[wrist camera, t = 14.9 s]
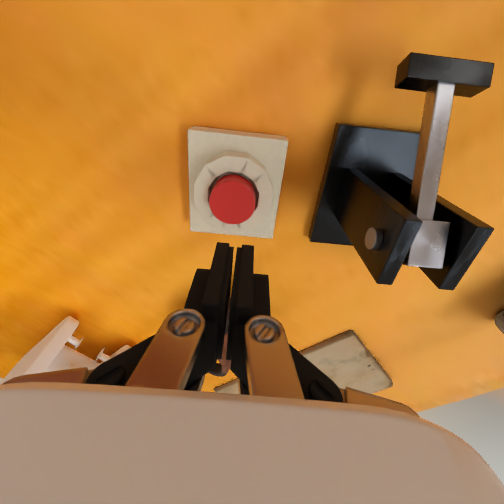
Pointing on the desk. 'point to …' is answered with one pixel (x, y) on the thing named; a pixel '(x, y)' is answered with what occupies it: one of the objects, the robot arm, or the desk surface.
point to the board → (340, 365)
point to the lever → (435, 140)
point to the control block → (238, 163)
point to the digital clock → (500, 321)
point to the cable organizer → (57, 353)
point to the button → (232, 199)
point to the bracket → (386, 205)
